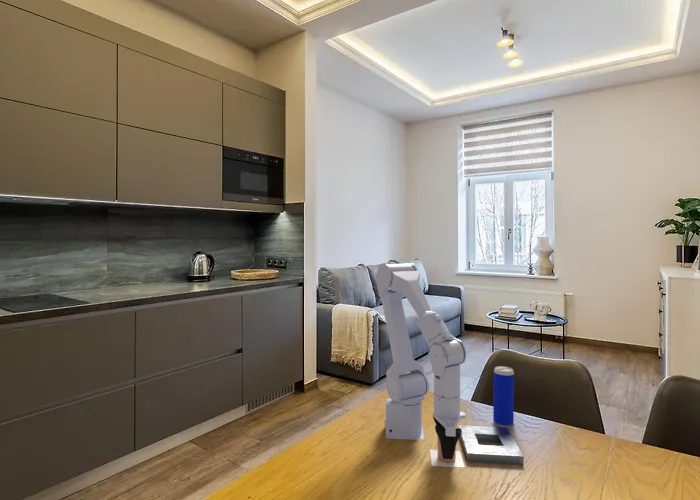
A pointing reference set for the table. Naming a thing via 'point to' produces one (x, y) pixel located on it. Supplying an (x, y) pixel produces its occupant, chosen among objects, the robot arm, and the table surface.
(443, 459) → the peg
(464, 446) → the hole plate
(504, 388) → the beverage can
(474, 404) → the table surface
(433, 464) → the tile
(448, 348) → the robot arm
